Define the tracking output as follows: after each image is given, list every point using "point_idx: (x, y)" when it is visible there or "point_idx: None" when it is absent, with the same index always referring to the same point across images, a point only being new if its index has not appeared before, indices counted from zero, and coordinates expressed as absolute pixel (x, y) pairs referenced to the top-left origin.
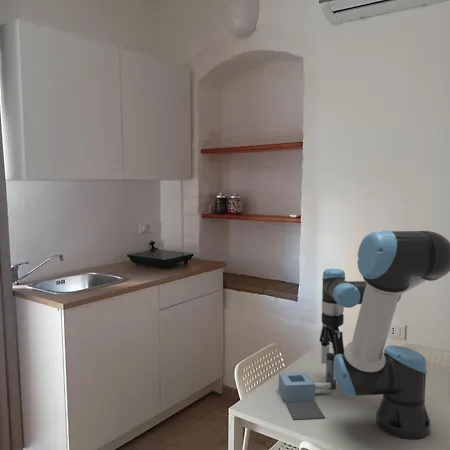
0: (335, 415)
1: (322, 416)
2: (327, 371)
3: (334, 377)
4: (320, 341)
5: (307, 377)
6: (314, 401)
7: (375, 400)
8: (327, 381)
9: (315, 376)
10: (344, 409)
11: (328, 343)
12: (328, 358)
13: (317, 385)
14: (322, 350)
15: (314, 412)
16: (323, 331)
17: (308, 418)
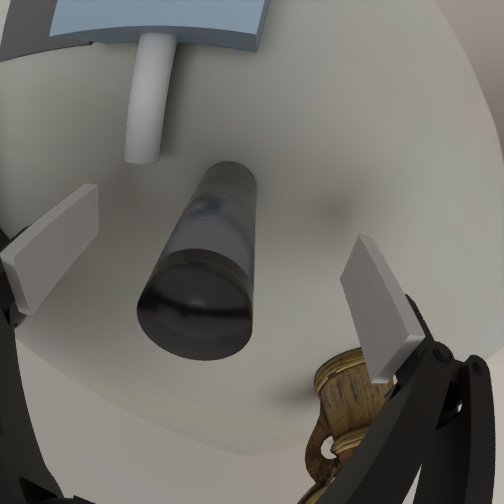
0: (8, 103)
1: (3, 53)
2: (204, 198)
3: (76, 190)
4: (467, 361)
5: (151, 5)
6: (103, 42)
7: (93, 290)
8: (213, 174)
9: (375, 182)
10: (34, 151)
11: (385, 402)
12: (168, 262)
13: (133, 73)
14: (393, 307)
15: (26, 27)
16: (457, 502)
17: (10, 5)
